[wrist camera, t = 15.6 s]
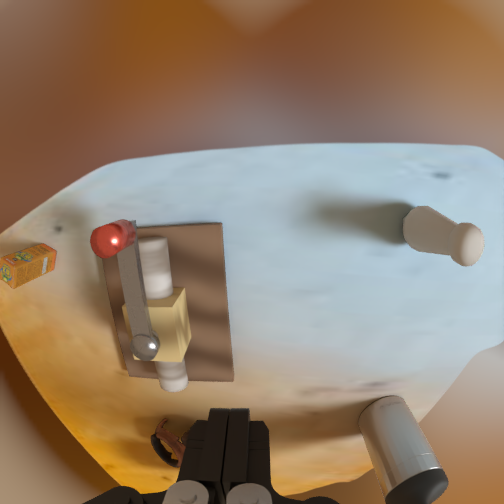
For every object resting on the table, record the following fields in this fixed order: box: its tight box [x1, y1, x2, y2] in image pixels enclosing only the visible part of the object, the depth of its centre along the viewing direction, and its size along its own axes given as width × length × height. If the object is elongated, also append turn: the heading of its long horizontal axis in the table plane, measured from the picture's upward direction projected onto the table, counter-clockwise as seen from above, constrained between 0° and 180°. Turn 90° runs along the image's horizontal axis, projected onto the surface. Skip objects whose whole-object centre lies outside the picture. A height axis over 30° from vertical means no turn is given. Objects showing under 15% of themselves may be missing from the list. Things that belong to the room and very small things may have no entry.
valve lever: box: [90, 219, 160, 361], centre depth 26 cm, size 15×3×5 cm, turn 3°
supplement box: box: [0, 244, 57, 289], centre depth 32 cm, size 3×4×10 cm
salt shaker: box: [403, 206, 484, 266], centre depth 29 cm, size 6×6×13 cm
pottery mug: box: [151, 419, 189, 467], centre depth 42 cm, size 12×10×8 cm
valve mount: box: [102, 223, 234, 392], centre depth 34 cm, size 22×16×9 cm
